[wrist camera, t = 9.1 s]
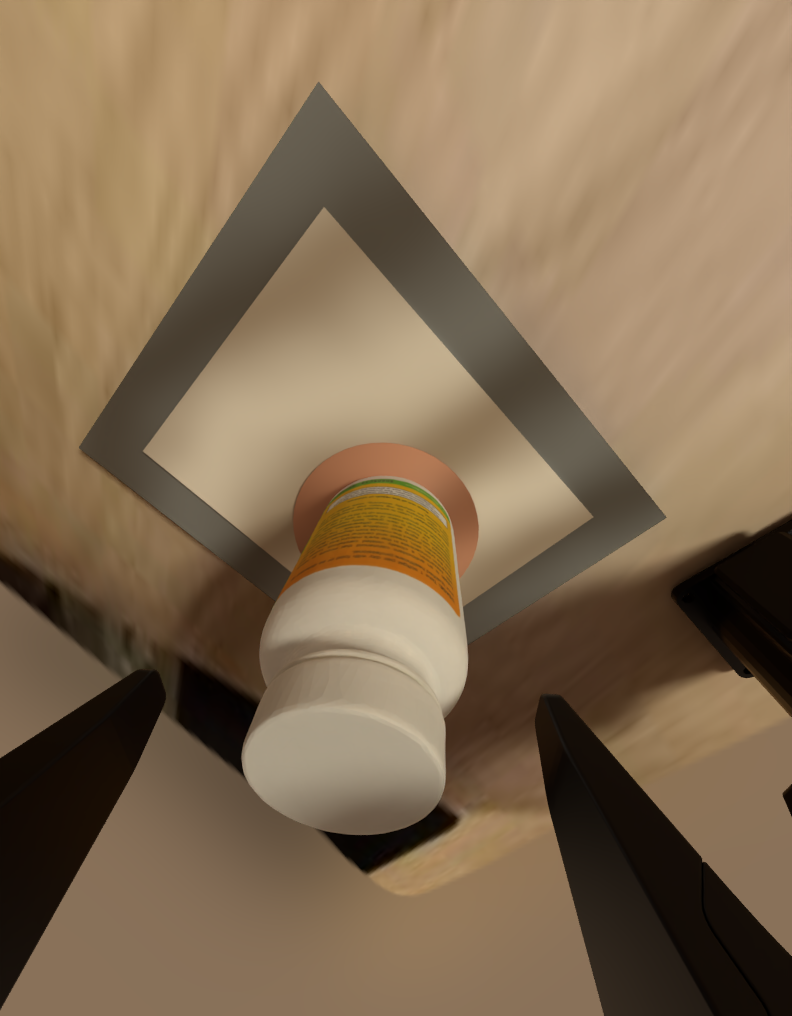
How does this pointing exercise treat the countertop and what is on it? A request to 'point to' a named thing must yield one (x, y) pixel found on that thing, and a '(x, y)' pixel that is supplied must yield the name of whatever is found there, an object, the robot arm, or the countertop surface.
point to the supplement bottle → (362, 665)
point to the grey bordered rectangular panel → (359, 389)
